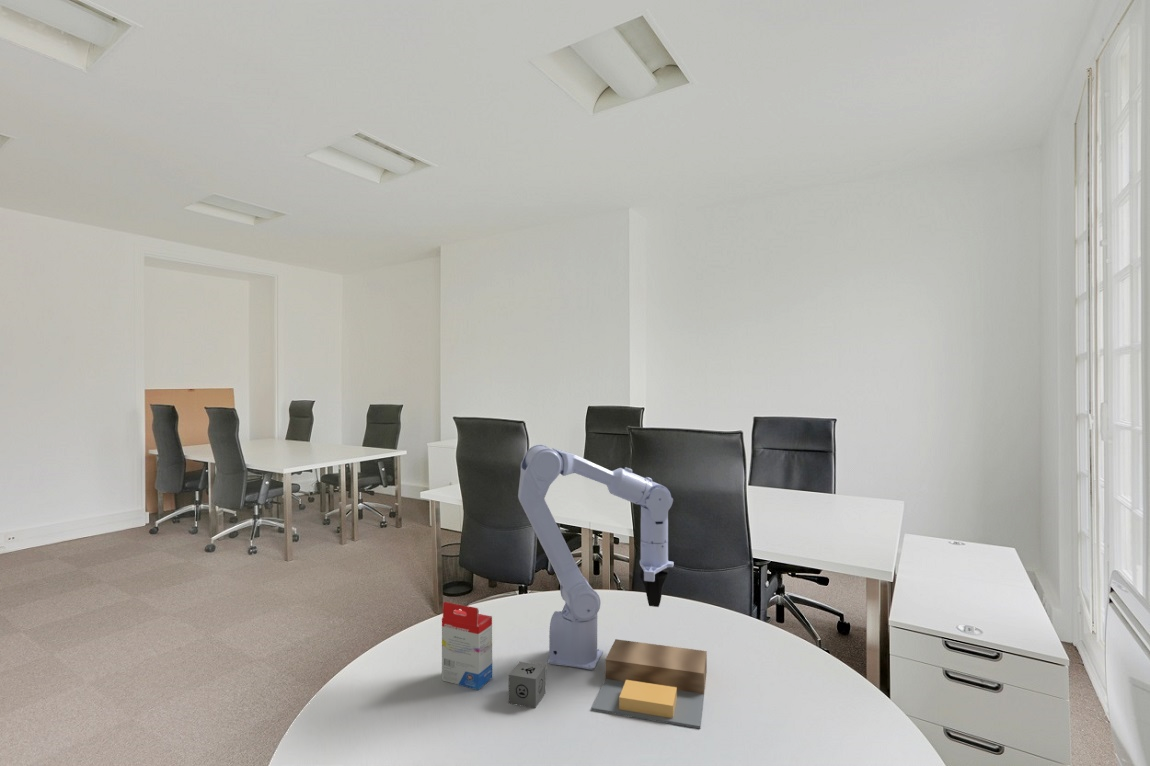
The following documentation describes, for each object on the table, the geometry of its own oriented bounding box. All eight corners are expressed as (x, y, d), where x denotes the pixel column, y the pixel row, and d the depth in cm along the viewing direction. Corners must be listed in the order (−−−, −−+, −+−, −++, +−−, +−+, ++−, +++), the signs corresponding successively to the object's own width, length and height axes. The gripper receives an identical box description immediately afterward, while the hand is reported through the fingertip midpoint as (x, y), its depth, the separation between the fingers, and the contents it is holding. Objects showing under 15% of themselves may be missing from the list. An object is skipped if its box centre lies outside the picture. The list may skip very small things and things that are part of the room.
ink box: (493, 678, 104) (493, 600, 104) (478, 691, 99) (478, 609, 100) (456, 669, 107) (457, 593, 108) (440, 680, 103) (440, 601, 103)
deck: (605, 681, 103) (605, 659, 103) (615, 659, 111) (615, 639, 112) (703, 696, 98) (703, 673, 98) (706, 672, 106) (706, 651, 106)
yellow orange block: (626, 679, 99) (626, 691, 99) (619, 697, 93) (619, 709, 93) (676, 687, 96) (676, 698, 96) (672, 705, 90) (672, 718, 90)
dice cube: (535, 708, 94) (535, 678, 94) (508, 703, 95) (508, 674, 95) (545, 693, 99) (545, 665, 99) (519, 689, 100) (519, 661, 100)
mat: (591, 710, 93) (591, 707, 93) (606, 678, 104) (606, 676, 104) (700, 728, 88) (700, 726, 88) (704, 693, 99) (704, 691, 99)
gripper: (669, 550, 108) (669, 621, 107) (677, 533, 122) (677, 595, 121) (633, 548, 110) (633, 616, 109) (645, 531, 124) (645, 592, 123)
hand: (654, 605), depth 115 cm, fingers closed
